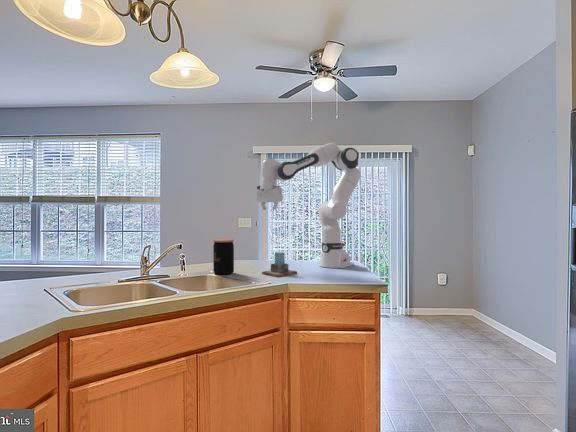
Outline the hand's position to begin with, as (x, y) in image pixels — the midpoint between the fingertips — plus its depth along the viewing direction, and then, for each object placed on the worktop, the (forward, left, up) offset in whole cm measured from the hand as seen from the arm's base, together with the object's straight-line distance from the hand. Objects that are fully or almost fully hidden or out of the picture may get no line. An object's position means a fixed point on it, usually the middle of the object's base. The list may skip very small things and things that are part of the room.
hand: (269, 209), depth 196 cm
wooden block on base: (+9, +19, -34) cm, 40 cm away
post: (+9, +19, -33) cm, 39 cm away
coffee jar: (+30, -2, -34) cm, 45 cm away
